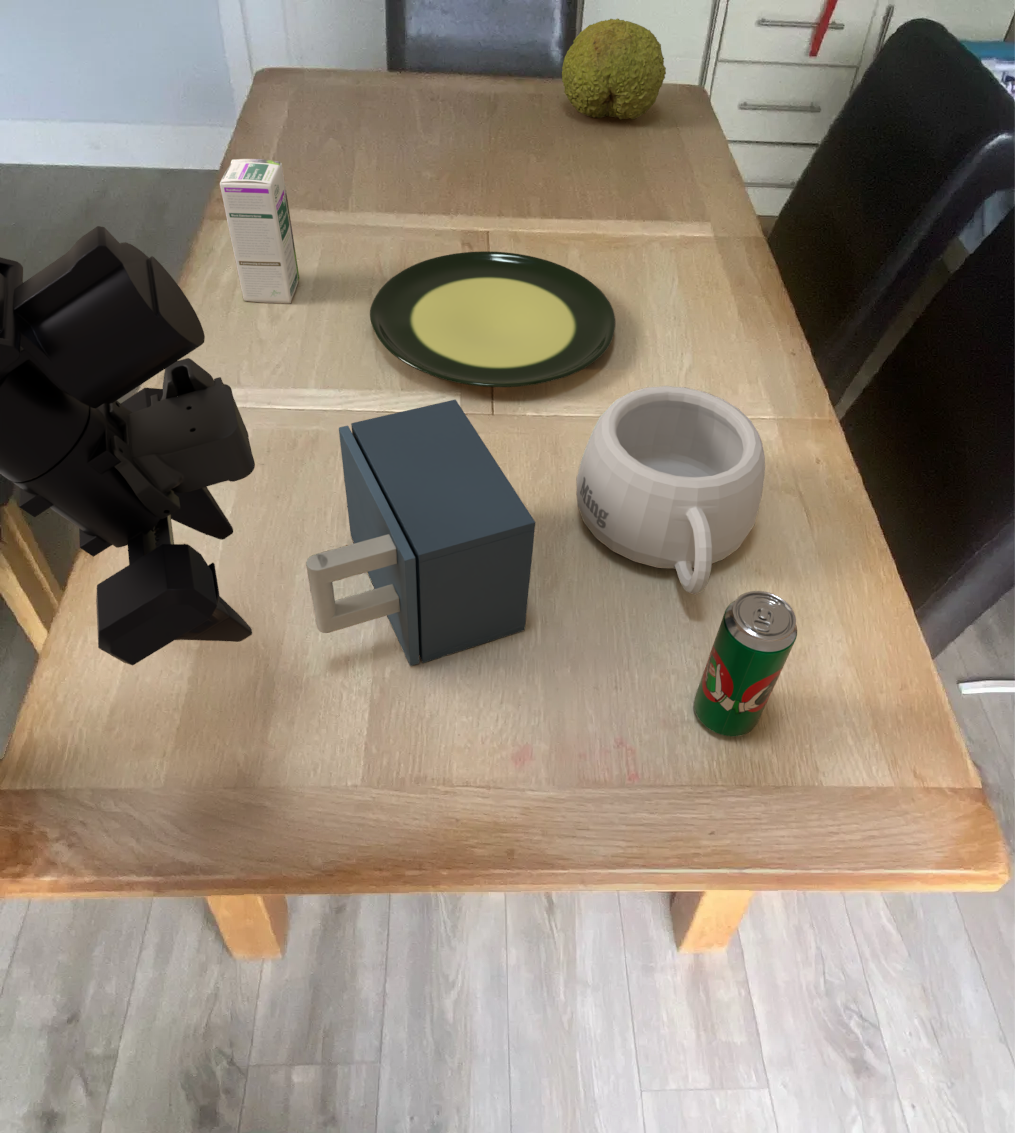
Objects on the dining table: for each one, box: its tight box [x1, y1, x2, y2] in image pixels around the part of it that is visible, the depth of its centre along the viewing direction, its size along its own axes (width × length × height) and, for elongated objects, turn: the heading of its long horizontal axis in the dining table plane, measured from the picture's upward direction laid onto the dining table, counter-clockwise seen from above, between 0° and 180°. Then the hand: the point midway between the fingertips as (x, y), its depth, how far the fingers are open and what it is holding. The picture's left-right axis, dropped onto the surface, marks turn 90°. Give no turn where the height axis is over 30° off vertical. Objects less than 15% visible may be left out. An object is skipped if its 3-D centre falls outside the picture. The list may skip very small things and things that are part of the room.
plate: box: [369, 250, 616, 388], centre depth 104 cm, size 28×28×2 cm
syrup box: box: [219, 158, 300, 304], centre depth 103 cm, size 6×6×14 cm
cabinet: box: [350, 399, 536, 664], centre depth 73 cm, size 9×16×13 cm, turn 24°
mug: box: [576, 385, 766, 595], centre depth 80 cm, size 21×17×10 cm
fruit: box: [561, 17, 667, 121], centre depth 145 cm, size 16×14×15 cm
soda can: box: [693, 590, 798, 738], centre depth 66 cm, size 5×5×12 cm
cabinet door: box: [305, 425, 420, 667], centre depth 71 cm, size 7×16×12 cm, turn 24°
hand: (236, 582), depth 59 cm, fingers open, 9 cm apart
